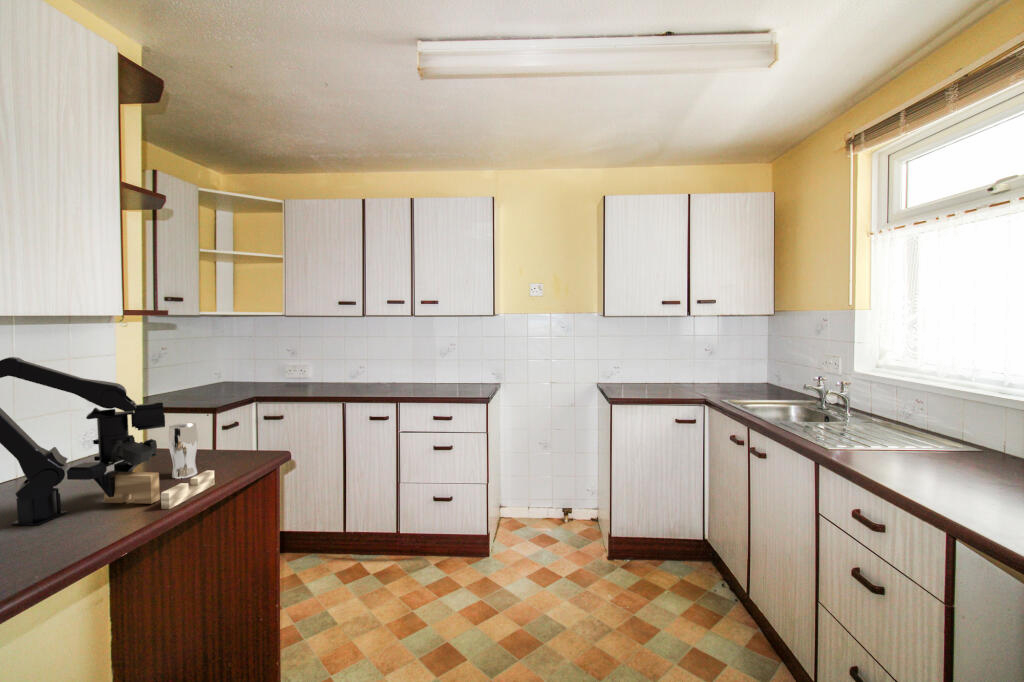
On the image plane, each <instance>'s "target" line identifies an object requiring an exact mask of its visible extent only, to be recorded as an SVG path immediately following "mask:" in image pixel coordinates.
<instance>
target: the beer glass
mask: <svg viewBox="0 0 1024 682" xmlns="http://www.w3.org/2000/svg"><path fill="white" fill-rule="evenodd" d="M167 439H168V441H167V442H168V448H169V452H170V456H171V461H172V473H171V478H172V479H174V478H175V480H180V479H181V478H182V479H187V478H192V477H195V476H197V475H198V469H197V465H196V457H197V456H196V455H197V450H198V442H199V441H198V440H199V439H198V428H197V423H194V422H184V423H177V424H173V425H170V426H168V438H167Z"/></svg>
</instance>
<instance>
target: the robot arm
mask: <svg viewBox="0 0 1024 682" xmlns="http://www.w3.org/2000/svg"><path fill="white" fill-rule="evenodd" d="M5 377H12V378H15V379H16V378H17V379H20V380H24V381H27V382H31V383H35V384H37V385H41V386H44V387H49V388H53V389H55V390H60V391H63V392H66V393H70V394H73V395H76V396H78V397H80V398H81V399H84V400H86V401H87V402H89V403H92V404H94V405H96V406H98V407H101V408H103V409H99V408H98V407H94V408H93V410H92V411H90V412H89V413H88V414H87V415H86V417H85V419H86V420H94V419H95V420H96V422H97V423H96V425H97V438H96V439H93V441H92V443H93V445H98V446H97V447H98V455H95V456H93V458H94V462H89V461H88V462H82V463H79V464H76V465H73V466H70V467H69V465H68V463H67V461H68V457H66V456H63V455H62V454H61V453H60V451H59V450H58V448H57V447H55V446H53V447H52V448H50V449H49V450H48V449H46V448H44V447H42V446H40V445H39V444H37V442H36V441H35V440H33V438H32V437H31V436H29V434H28V433H26V432H25V430H24V429H23V428H22V427H21V426H20V425H19V424H18V423H16V421H14V419H12V418H11V417H10V415H8V414H7V413H6V412H5V411H4V410H3V409H2V408H1V407H0V445H2V446H3V448H5V449H6V450H7V451H8V452H9V453H10V454H11V455H12V456H13V457H14V458H15V459H16V460H17V462H18V464H19V466H20V468H21V471H22V473H23V474H24V476H25V478H26V479H25V480H23V482H22V483H21V484H20V486H19V488H18V489H17V491H16V492H15V496H16V498H15V499H16V509H17V510H16V513H17V515H16V516H17V520H15V521H11V522H10V523H11V525H12V526H40V525H42V524H44V523H47V522H49V521H51V520H53V519H55V518H59V517H60V516H62V515H65V514H67V510H62V504H61V501H62V500H61V493H59V491H60V490H59V487H56V486H58V485H60V484H61V483H62V482H63V481H64V479H65V477H66V479H67V481H68V480H75V481H77V480H80V481H81V480H82V481H85V480H86V481H87V480H88V481H90V480H94V481H95V482H96V483H97V484H98V487H100V488H101V489H102V491H103V493H104V492H105V493H106V494H107V496H108V497H114V493H115V476H116V475H117V473H118V472H134V470H135V468H137V467H138V466H139V465H141V464H142V463H145V462H148V461H150V460H151V458H153V457H154V456H156V455H157V451H158V450H157V449H158V445H157V440H156V439H152V438H150V439H147V440H144V441H140V442H137V441H136V440H135V436H134V435H132V434H129V417H128V416H130V415H131V428H134V429H137V431H143V430H144V431H145V430H151V429H161V428H165V427H166V418H165V411H164V403H163V401H154V402H151V403H150V402H149V403H142V404H139V403H138V404H137V403H136V402H135V400H133V399H132V398H130V397H129V396H128V395H127V389H126V388H125V386H124V385H122V384H121V383H118V382H110V381H105V380H98V379H88V378H83V377H80V376H76V375H73V374H70V373H66V372H64V371H63V372H62V371H59V370H57V369H53V368H49V367H46V366H43V365H40V364H36V363H35V362H34V363H33V362H30V361H26V360H23V359H22V358H20V357H16V356H9V357H6V358H3V359H1V360H0V379H2V378H5ZM116 409H117V410H120V411H116ZM95 461H96V462H95Z"/></svg>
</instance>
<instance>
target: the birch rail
mask: <svg viewBox="0 0 1024 682" xmlns="http://www.w3.org/2000/svg"><path fill="white" fill-rule="evenodd" d="M215 480H216V479H215V470H208V469H207V470H205V471H203V472H201V473H199V474H196V475H194V476H192V477H190V485H189V482H186V483H183V482H182V483H181V482H180V483H178V484H177V485H175V486H173V487H170V488H168V489H166V490H164V491H162V492H161V493H160V500H161V501H160V503H161V510H170V509H173V508H174V507H175V506H178V505H180V504H181V503H183V502H185V501H187V500H189V499H190V498H193V497H194V496H196V495H197V494H200V493H202V492H204V491H206V490H208V488H211V487H212V486H214V485H216V482H215Z"/></svg>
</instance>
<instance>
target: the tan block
mask: <svg viewBox="0 0 1024 682" xmlns="http://www.w3.org/2000/svg"><path fill="white" fill-rule="evenodd" d="M132 498H133V500H132ZM130 500H132V503H133V504H151V505H152V504H153V503H155V502H157V501H160V500H161V493H160V473H159V472H155V471H154V472H153V471H151V472H150V471H149V472H147V471H146V472H145V471H132V472H118V473H117V475H116V476H115V493H114V497H108V496H107V494H106V493H105V492H104V491H103V501H104V502H103V503H106V504H107V503H109V504H110V503H111V504H123V503H125V502H128V501H130Z"/></svg>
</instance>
